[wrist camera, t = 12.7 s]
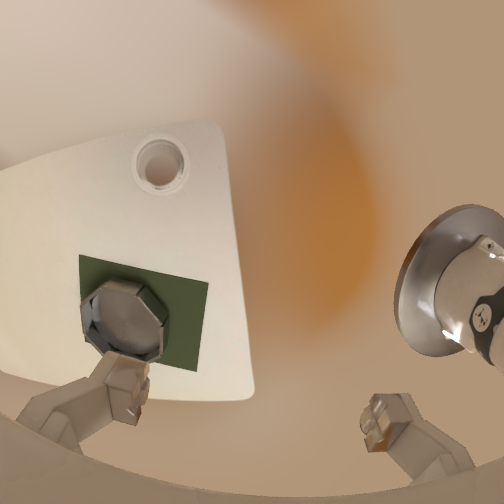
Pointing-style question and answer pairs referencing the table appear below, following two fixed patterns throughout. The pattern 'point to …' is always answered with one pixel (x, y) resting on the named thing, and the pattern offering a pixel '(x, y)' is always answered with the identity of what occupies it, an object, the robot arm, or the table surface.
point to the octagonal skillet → (125, 320)
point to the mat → (171, 298)
